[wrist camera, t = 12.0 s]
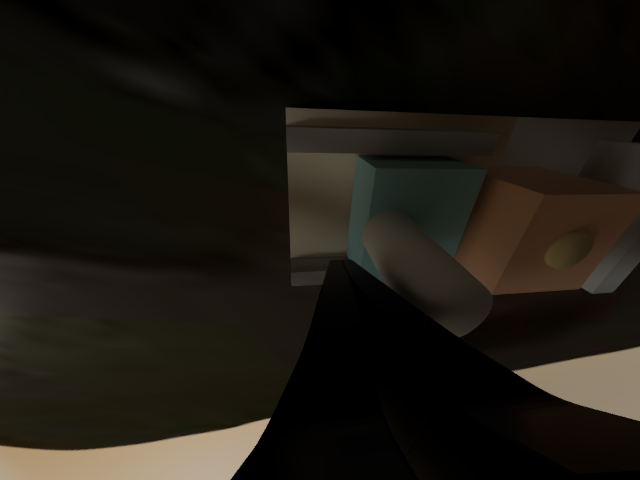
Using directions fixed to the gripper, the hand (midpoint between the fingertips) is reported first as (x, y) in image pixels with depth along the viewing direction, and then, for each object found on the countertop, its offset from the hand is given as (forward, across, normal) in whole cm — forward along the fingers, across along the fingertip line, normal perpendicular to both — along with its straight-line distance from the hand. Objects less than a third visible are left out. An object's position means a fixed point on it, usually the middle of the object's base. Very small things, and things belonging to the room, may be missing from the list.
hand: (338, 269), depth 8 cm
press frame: (+7, -8, 0) cm, 11 cm away
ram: (+6, -4, 0) cm, 7 cm away
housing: (+6, -10, 0) cm, 12 cm away
